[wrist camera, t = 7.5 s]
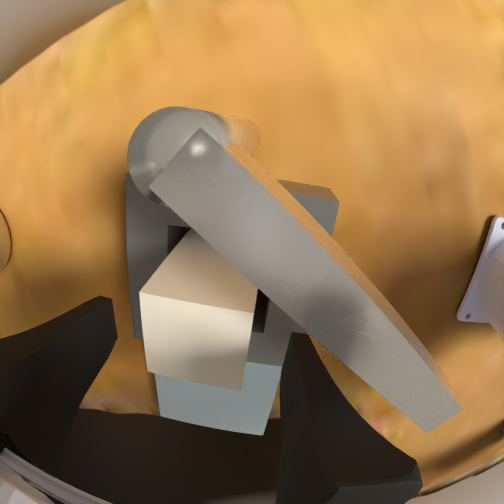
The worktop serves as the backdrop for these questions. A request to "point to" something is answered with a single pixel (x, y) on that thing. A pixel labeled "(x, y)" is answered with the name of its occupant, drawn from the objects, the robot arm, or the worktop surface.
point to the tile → (222, 400)
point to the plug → (198, 316)
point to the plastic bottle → (4, 242)
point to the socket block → (170, 234)
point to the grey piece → (284, 252)
